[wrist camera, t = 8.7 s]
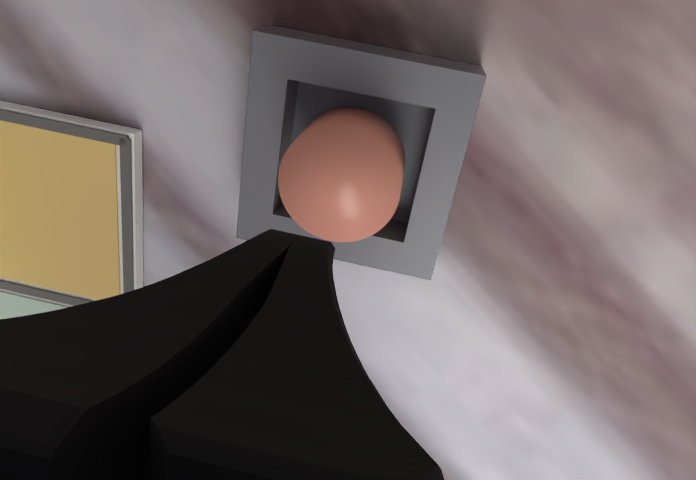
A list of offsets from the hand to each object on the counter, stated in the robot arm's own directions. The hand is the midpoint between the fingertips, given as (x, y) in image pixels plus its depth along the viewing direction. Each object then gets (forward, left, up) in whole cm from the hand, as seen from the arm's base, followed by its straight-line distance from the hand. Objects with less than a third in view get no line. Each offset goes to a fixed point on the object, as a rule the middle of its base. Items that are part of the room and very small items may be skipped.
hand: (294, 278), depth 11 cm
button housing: (0, 0, -9) cm, 9 cm away
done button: (0, 0, -8) cm, 8 cm away
